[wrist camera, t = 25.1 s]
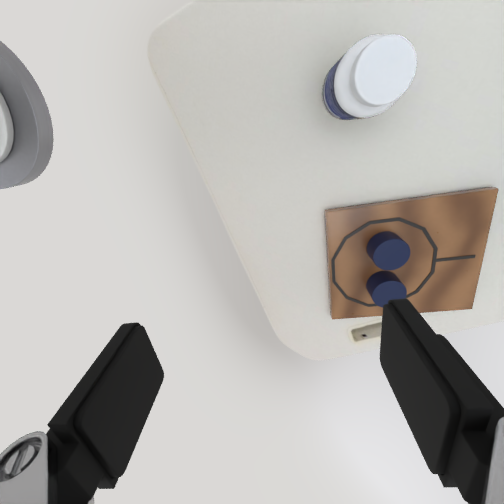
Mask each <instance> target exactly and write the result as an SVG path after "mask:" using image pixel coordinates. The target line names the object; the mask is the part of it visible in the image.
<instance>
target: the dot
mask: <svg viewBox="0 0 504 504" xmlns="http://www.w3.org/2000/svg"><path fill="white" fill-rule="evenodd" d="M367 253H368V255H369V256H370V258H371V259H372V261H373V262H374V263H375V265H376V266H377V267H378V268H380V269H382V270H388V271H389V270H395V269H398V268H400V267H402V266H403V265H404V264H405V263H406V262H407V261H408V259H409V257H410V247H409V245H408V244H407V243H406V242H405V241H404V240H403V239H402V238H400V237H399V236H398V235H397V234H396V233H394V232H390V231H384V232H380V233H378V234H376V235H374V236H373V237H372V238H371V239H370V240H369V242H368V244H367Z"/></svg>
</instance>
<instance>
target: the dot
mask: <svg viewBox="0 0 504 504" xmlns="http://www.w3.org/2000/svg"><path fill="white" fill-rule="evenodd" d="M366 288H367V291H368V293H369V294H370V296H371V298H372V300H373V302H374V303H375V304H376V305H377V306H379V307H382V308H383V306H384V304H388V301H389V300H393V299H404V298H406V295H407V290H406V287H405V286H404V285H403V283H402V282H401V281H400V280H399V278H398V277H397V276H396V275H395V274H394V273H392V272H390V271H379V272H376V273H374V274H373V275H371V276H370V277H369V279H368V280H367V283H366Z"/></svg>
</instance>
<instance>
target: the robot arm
mask: <svg viewBox="0 0 504 504" xmlns="http://www.w3.org/2000/svg"><path fill="white" fill-rule="evenodd" d="M13 138H14V130H13V122H12V118H11V115H10V111H9V108H8V106H7V104H6V102H5V100H4V97H3V96H2V94H1V93H0V162H2V161H3V160H4V159H5V158H6V157H7V156H8V154H9V152H10V151H11V148H12V144H13ZM380 362H381V366H382V368H383V370H384V373H385V375H386V377H387V379H388V381H389V383H390V386H391V388H392V390H393V392H394V394H395V397H396V398H397V401H398V403H399V405H400V407H401V409H402V412H403V414H404V416H405V418H406V420H407V422H408V425H409V427H410V429H411V431H412V433H413V435H414V438H415V440H416V442H417V444H418V446H419V448H420V450H421V453H422V455H423V457H424V459H425V461H426V463H427V466H428V468H429V469H430V471H431V472H432V473H433V474H438V476H439V478H440V480H441V482H442V484H443V486H444V487H458V489H459V491H460V493H461V495H462V497H463V499H464V500H465V501H467V502H468V504H504V408H503V407H502V406H501V404H500V403H499V402H498V401H497V400H496V398H495V397H494V396H493V395H492V394H491V393H490V391H489V390H488V389H487V388H486V386H485V385H484V384H483V383H482V382H481V380H480V379H479V378H478V377H477V375H476V374H475V373H474V372H473V371H472V369H471V368H470V367H469V366H468V365H467V363H466V362H465V361H464V360H463V358H462V357H461V356H460V355H459V354H458V352H457V351H456V350H455V349H454V348H453V347H452V345H451V344H450V343H449V341H448V340H447V339H446V338H445V337H444V336H442V335H440V334H437V335H436V334H435V332H434V331H433V330H432V329H431V327H430V326H429V325H428V324H427V322H426V321H425V320H424V318H423V317H422V316H421V315H420V313H419V312H418V311H417V310H416V308H415V307H414V306H413V305H412V303H411V302H410V301H409V300H408V299H406V298H404V299H393V300H389V301H388V304H384V306H383V316H382V331H381V347H380ZM163 378H164V372H163V370H162V367H161V364H160V362H159V360H158V358H157V355H156V353H155V351H154V348H153V346H152V344H151V342H150V339H149V337H148V335H147V333H146V330H145V328H144V327H143V326H141V325H140V324H139V323H128V324H123V325H121V326H120V328H119V329H118V331H117V332H116V333H115V335H114V336H113V337H112V339H111V340H110V342H109V343H108V344H107V345H106V347H105V348H104V349H103V351H102V352H101V353H100V355H99V356H98V357H97V359H96V360H95V361H94V363H93V364H92V365H91V367H90V368H89V370H88V371H87V372H86V374H85V375H84V376H83V378H82V379H81V380H80V382H79V383H78V384H77V386H76V387H75V388H74V390H73V391H72V393H71V394H70V395H69V396H68V398H67V399H66V400H65V402H64V403H63V405H62V406H61V407H60V409H59V410H58V411H57V413H56V414H55V415H54V417H53V418H52V419H51V421H50V422H49V423H48V426H49V427H50V429H49V431H48V432H47V434H45V433H44V432H38V431H37V432H33V433H29V434H27V435H25V436H23V437H21V438H19V439H18V440H17V441H15V442H14V443H12V444H11V445H10V446H9V447H7V448H6V449H5V450H4V451H3V452H2V453H1V454H0V504H94V498H93V496H94V493H95V491H96V489H97V487H98V488H99V489H105V488H106V489H108V488H109V489H111V488H112V489H114V487H115V485H116V483H117V481H118V478H119V477H121V476H122V475H123V474H124V472H125V470H126V468H127V465H128V463H129V460H130V458H131V455H132V453H133V451H134V448H135V446H136V443H137V441H138V439H139V436H140V434H141V432H142V429H143V427H144V425H145V422H146V420H147V417H148V415H149V413H150V410H151V408H152V406H153V403H154V401H155V398H156V396H157V394H158V391H159V389H160V386H161V384H162V382H163Z"/></svg>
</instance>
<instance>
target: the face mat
mask: <svg viewBox="0 0 504 504" xmlns="http://www.w3.org/2000/svg"><path fill="white" fill-rule="evenodd" d="M497 193H498V188H494V187H487V188H480V189H473V190H466V191H458V192H451V193H444V194H437V195H429V196H422V197H415V198H408V199H400V200H393V201H386V202H379V203H371V204H364V205H357V206H350V207H342V208H335V209H328V210H325V221H326V239H327V256H328V274H329V291H330V309H331V317H332V319H343V318H357V317H370V316H383V308H382V307H379V306H377V305H376V304H375V303H374V302H373V300H372V298H371V296H370V294H369V293H368V291H367V288H366V283H367V280H368V279H369V277H370V276H371V275H373V274H374V273H376V272H379V271H388V270H382V269H380V268H378V267H377V266H376V265H375V263H374V262H373V261H372V259H371V258H370V256H369V255H368V253H367V244H368V242H369V240H370V239H371V238H372V237H373V236H374V235H376V234H378V233H380V232H384V231H390V232H394V233H396V234H397V235H398V236H399V237H400V238H402V239H403V240H404V241H405V242H406V243H407V244H408V245H409V247H410V257H409V259H408V261H407V262H406V263H405V264H404V265H403V266H402V267H400V268H398V269H395V270H389V271H390V272H392V273H394V274H395V275H396V276H397V277H398V278H399V280H400V281H401V282H402V283H403V285H404V286H405V287H406V290H407V295H406V299H408V300H409V301H410V302H411V303H412V305H413V306H414V307H415V308H416V310H417V311H418V312H419V313H424V312H437V311H450V310H464V309H472V306H473V302H474V297H475V293H476V288H477V284H478V279H479V275H480V270H481V266H482V261H483V256H484V252H485V247H486V243H487V238H488V234H489V229H490V225H491V220H492V216H493V211H494V207H495V202H496V198H497Z"/></svg>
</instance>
